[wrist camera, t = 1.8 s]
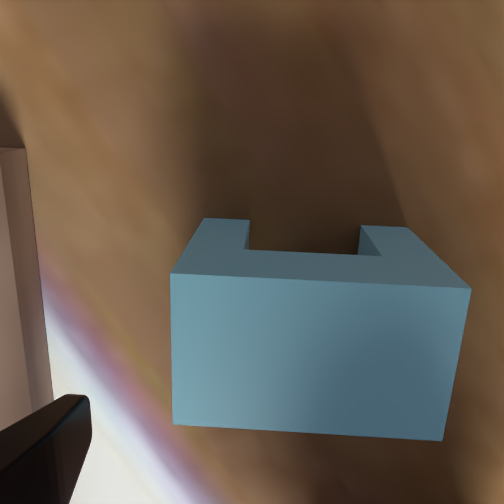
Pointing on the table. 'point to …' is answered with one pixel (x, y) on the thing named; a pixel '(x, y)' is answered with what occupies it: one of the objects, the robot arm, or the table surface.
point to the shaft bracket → (20, 298)
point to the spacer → (315, 335)
